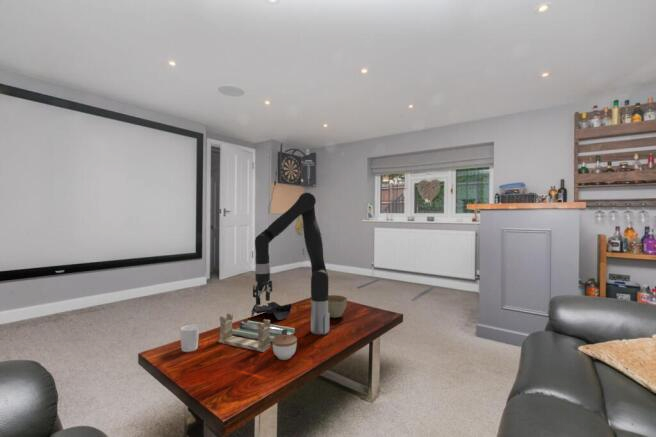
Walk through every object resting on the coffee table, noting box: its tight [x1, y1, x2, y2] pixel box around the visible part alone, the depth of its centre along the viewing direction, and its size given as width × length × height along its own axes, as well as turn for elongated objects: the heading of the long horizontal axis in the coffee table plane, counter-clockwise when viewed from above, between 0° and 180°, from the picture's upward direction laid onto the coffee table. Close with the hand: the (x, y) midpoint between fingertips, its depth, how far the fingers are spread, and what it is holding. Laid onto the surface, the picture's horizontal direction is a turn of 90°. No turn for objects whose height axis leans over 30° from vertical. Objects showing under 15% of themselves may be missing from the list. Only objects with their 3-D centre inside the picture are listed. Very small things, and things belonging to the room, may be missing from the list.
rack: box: [218, 313, 272, 353], centre depth 143 cm, size 26×6×12 cm, turn 67°
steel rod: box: [238, 321, 287, 335], centre depth 156 cm, size 28×3×3 cm, turn 68°
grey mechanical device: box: [250, 301, 292, 321], centre depth 182 cm, size 18×20×9 cm
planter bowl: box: [328, 294, 348, 319], centre depth 186 cm, size 16×16×11 cm
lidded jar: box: [271, 334, 298, 361], centre depth 131 cm, size 11×11×9 cm
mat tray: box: [232, 320, 296, 343], centre depth 157 cm, size 30×15×2 cm, turn 67°
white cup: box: [179, 324, 200, 353], centre depth 137 cm, size 8×8×10 cm
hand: (263, 302), depth 156 cm, fingers open, 8 cm apart
